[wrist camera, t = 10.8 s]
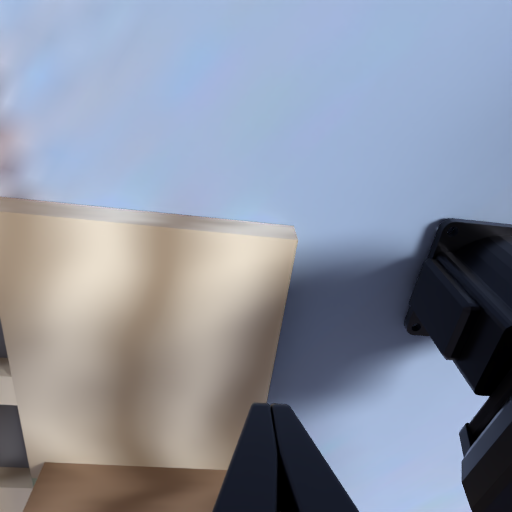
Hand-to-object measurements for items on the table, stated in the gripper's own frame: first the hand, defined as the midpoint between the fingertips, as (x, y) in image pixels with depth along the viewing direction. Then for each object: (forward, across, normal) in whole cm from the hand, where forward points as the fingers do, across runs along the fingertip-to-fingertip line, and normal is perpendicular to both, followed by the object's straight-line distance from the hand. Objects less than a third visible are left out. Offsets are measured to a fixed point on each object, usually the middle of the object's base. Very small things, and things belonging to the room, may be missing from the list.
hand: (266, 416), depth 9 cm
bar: (+10, +5, +18) cm, 21 cm away
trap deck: (+11, +8, +11) cm, 17 cm away
